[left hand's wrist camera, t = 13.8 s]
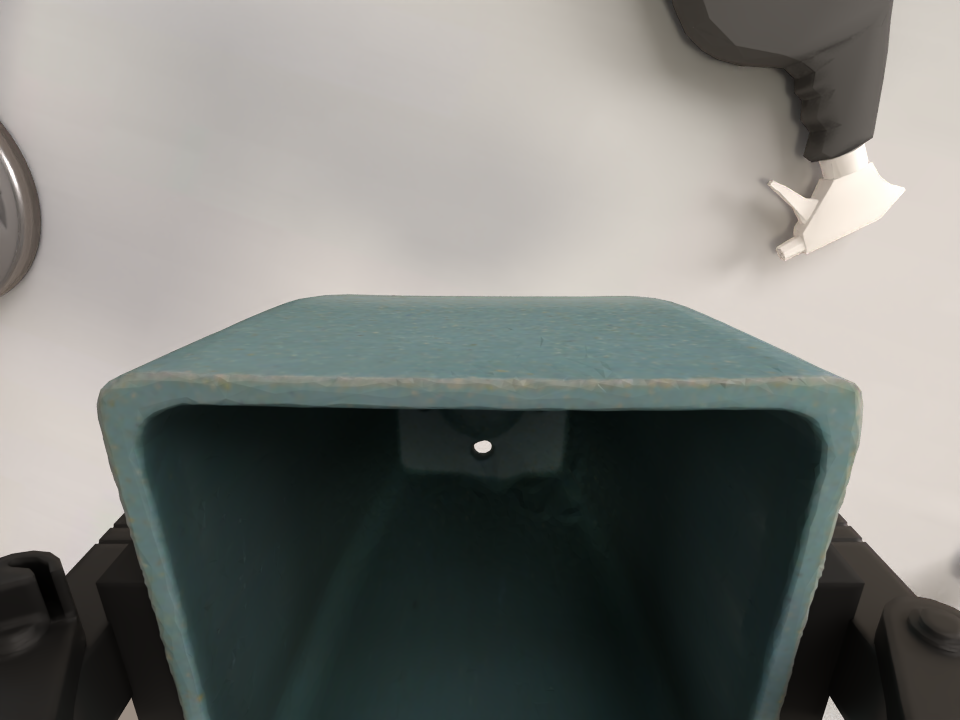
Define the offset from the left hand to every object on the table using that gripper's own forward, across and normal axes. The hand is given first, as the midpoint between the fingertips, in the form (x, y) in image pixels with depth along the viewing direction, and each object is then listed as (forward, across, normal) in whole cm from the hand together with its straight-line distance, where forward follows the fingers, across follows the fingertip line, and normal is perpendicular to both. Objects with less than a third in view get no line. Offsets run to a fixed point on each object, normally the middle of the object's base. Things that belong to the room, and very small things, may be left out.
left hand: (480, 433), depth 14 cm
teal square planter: (+2, 0, 0) cm, 2 cm away
